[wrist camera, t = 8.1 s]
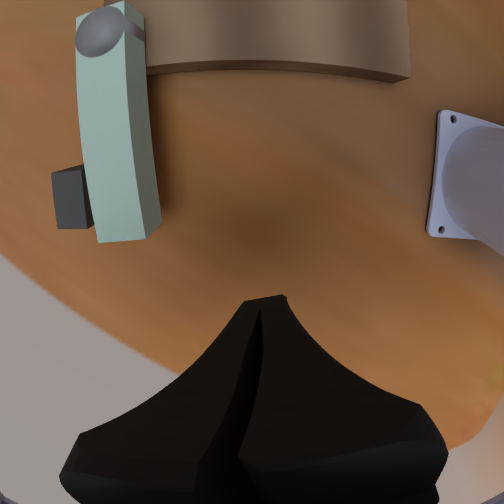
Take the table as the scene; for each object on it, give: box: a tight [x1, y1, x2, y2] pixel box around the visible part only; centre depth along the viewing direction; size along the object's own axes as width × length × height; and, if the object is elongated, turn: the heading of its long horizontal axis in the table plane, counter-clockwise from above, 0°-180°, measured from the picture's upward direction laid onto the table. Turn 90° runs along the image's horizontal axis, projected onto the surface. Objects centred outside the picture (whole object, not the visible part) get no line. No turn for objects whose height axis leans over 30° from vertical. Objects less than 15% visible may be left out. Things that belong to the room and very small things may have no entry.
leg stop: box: [51, 164, 94, 229], centre depth 16 cm, size 2×3×4 cm, turn 179°
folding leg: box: [75, 1, 163, 243], centre depth 13 cm, size 11×3×2 cm, turn 4°
